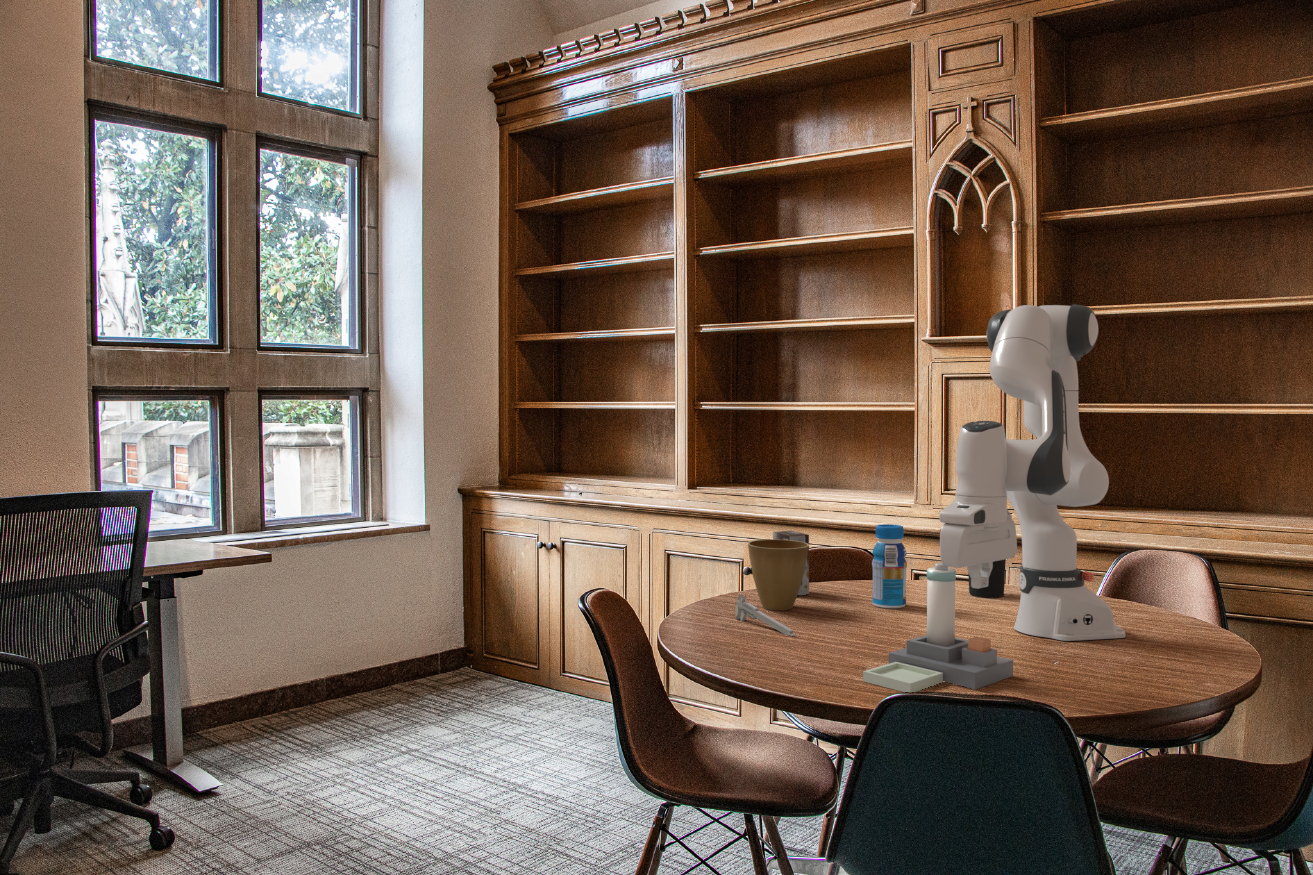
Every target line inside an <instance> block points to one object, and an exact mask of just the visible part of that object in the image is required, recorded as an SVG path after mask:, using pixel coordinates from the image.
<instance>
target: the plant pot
mask: <svg viewBox="0 0 1313 875" xmlns="http://www.w3.org/2000/svg"><path fill="white" fill-rule="evenodd" d="M747 547H748V556H749V560H750V568H751V572H752V578H753V581H754V584H755V588H756V591H757V595H758V598H759V600H760V604H761V606H762V608H763V609H764V610H768V609H769V610H770V611H777V610H782V611H789V610H788V609H790V610H792V609H793V607H794V605H795V602H796V600H797V595H798V592H799V589H800V585H801V582H802V578H803V575H804V570H805V566H806V560H807V554H808V548H809V549H810V543H809V544H807V543H805V542H800V541H793V540H779V539H773V538H771V539H768V538H767V539H756V540H751V541H750V540H749V541H748V542H747ZM791 608H792V609H791ZM769 610H768V611H769Z"/></svg>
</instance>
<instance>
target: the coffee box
mask: <svg viewBox="0 0 1313 875" xmlns="http://www.w3.org/2000/svg"><path fill="white" fill-rule="evenodd" d="M772 539H779V540H793V541H800V542H805V543H807V544H809V545H810V534H808V533H803V532H800V531H794V530H784V531H783V530H782V531H774V532H772ZM806 594H809V595H810V547H809V548H808V554H807V560H806V566H805V570H804V575H803V578H802V582H801V585H800V589H799V592H798V595H799V596H807V595H806Z"/></svg>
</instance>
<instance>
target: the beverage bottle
mask: <svg viewBox="0 0 1313 875" xmlns="http://www.w3.org/2000/svg"><path fill="white" fill-rule="evenodd" d="M904 530H905V529H904V525H902V524H892V523H891V524H890V523H889V524H888V523H887V524H886V523H884V524H883V523H882V524H877V525H876V527H875V538H876V540H877V542H875V543H876V544H875V545H874V546H873V549H872V555H873V559H872V561H871V566H872V602H871V603H872V604H873V606H875V607H877V608H882V609H901V608H904V607H905V606H906V605H907V567H908V563H907V560H906V556H907V550H906V547H905V546H904V544H903V542H902V540H904V535H905V534H904Z"/></svg>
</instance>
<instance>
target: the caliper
mask: <svg viewBox="0 0 1313 875" xmlns="http://www.w3.org/2000/svg"><path fill="white" fill-rule="evenodd" d="M746 598H747V597H746V596H744V594H739V595H738V598H736V602H735V609H734V612H735V613H734V614H735V620H737V621H738V620H739V622H745V621H746V619H747V616H748V617H749V618H751V619H752V620H756V619H758V620H759V621H761V622H763V623H764V624H766V625H768V626H770V627H771V628H773V629H775V630H777V631H778V632H780V633H781V634H783V635H785V636H788V635H790V636H789V637H792V636H795V637H797V634H796V633H795V632H793V631H794V630H793V629H792V628H790V627H789V626H787V625H785V624H783V623H781V622H779V621H778V620H776V619H774V618H773V617H771V616H769V615H767V614H766V613H765V612H762V611H760V610H759V608H758V607H757V606H755V605H753V604H752V603H750V602H749V601H746Z"/></svg>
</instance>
